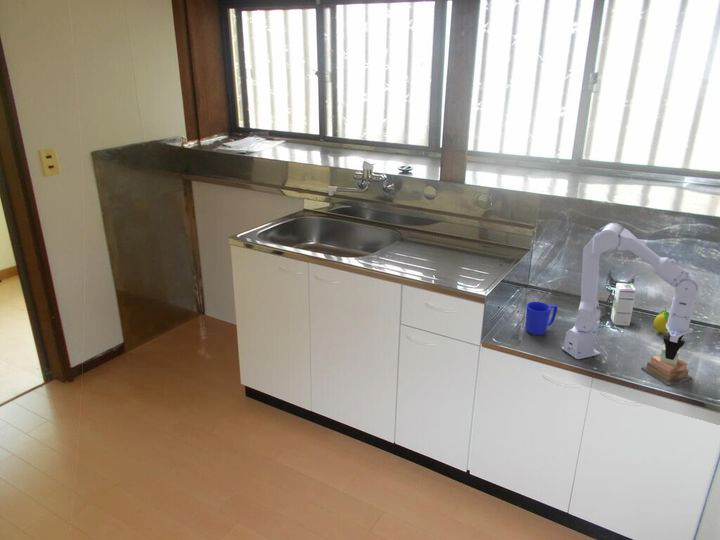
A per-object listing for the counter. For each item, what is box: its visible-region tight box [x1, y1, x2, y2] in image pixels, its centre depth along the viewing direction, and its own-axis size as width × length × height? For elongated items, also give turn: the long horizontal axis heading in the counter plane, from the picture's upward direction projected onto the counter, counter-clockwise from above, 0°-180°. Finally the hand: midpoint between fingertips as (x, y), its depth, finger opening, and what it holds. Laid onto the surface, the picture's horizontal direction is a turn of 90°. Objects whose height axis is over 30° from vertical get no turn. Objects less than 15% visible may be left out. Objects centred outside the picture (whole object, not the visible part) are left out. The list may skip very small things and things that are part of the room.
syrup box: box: [610, 282, 637, 327], centre depth 202 cm, size 6×6×14 cm
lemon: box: [653, 307, 670, 334], centre depth 195 cm, size 7×6×10 cm
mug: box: [525, 301, 558, 336], centre depth 197 cm, size 8×12×10 cm
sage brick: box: [660, 343, 682, 365], centre depth 170 cm, size 4×4×4 cm
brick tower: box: [640, 353, 693, 386], centre depth 171 cm, size 10×10×5 cm
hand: (671, 353), depth 169 cm, fingers open, 7 cm apart
